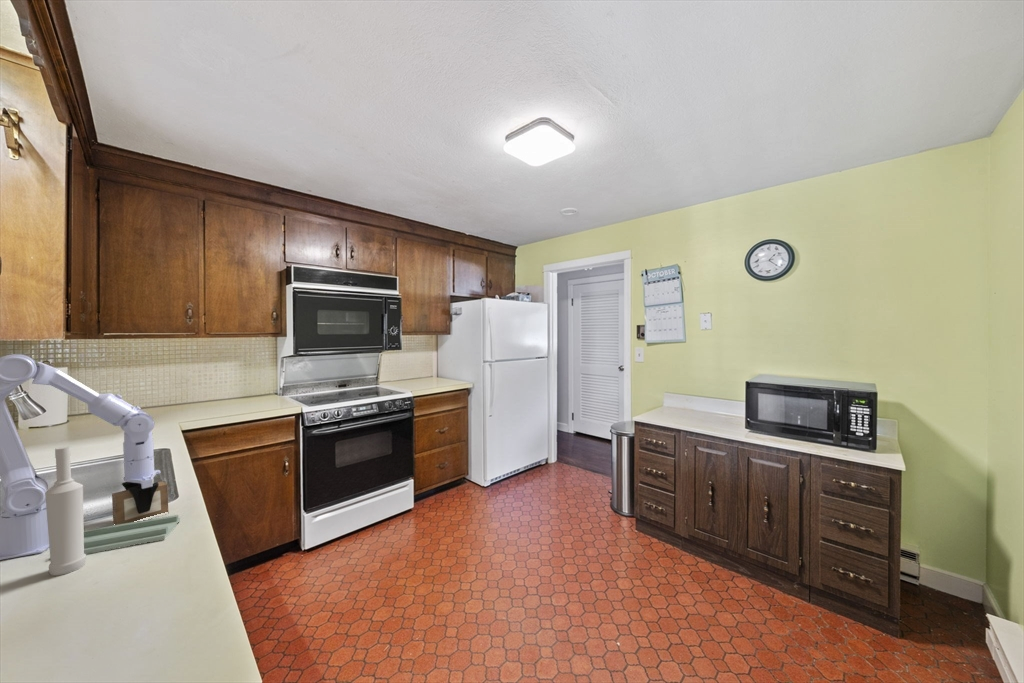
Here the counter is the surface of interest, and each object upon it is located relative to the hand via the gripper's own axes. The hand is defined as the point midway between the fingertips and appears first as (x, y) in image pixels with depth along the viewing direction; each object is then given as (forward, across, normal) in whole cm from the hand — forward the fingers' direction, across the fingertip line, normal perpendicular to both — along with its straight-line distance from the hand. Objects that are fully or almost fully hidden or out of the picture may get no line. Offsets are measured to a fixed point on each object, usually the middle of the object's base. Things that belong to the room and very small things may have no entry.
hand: (141, 509), depth 104 cm
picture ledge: (+2, -11, +5) cm, 12 cm away
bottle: (+3, -18, +15) cm, 23 cm away
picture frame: (+2, 0, 0) cm, 2 cm away
